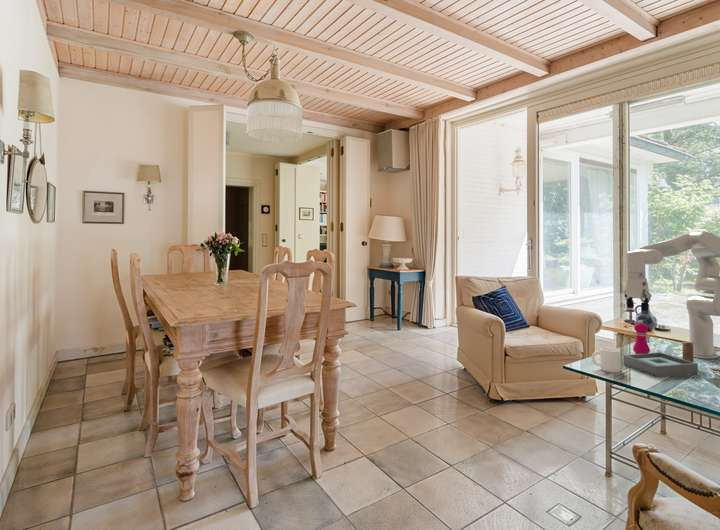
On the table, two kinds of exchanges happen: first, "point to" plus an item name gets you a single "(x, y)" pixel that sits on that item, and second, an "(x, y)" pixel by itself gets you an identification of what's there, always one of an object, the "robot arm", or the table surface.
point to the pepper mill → (641, 338)
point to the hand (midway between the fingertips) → (637, 309)
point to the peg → (687, 351)
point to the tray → (662, 368)
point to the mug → (608, 359)
